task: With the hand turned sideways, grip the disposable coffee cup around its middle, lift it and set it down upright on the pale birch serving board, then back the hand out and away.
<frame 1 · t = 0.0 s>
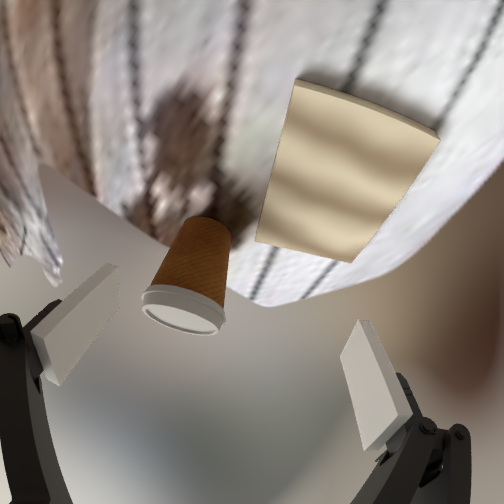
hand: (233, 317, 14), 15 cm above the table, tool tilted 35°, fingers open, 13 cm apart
serving board: (333, 186, 25), on the table
disposable coffee cup: (207, 231, 35), on the table
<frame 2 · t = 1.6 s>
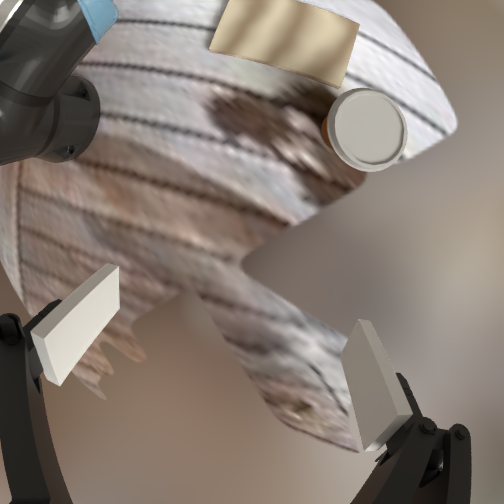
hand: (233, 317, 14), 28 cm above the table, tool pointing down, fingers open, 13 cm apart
serving board: (286, 34, 30), on the table
disposable coffee cup: (341, 131, 36), on the table
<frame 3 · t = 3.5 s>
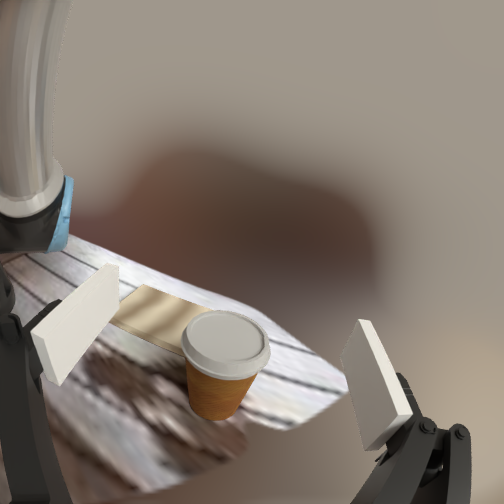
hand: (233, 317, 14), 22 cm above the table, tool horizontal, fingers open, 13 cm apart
serving board: (170, 323, 45), on the table
disposable coffee cup: (213, 402, 32), on the table
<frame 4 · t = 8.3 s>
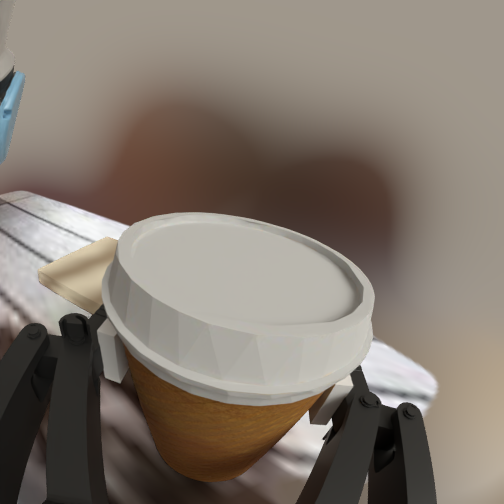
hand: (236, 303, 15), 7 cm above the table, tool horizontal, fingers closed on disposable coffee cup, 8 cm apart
serving board: (139, 290, 26), on the table
disposable coffee cup: (207, 439, 14), on the table, touching gripper
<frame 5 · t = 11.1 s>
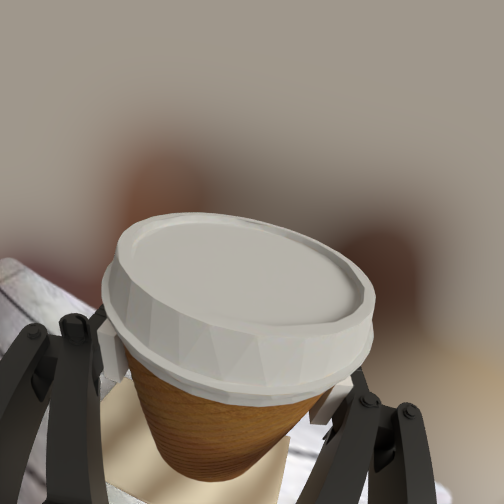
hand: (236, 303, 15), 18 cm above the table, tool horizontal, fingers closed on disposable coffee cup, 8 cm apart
serving board: (179, 460, 20), on the table
disposable coffee cup: (207, 439, 14), point 11 cm above the table, touching gripper
when the fingers open (10 cm above the table, at t = 13.8 s): disposable coffee cup drops 1 cm, point 1 cm above the table.
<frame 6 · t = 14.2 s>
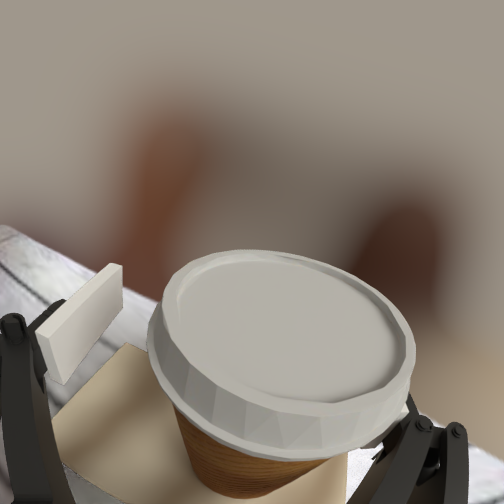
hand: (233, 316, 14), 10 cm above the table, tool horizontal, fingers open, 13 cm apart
serving board: (203, 455, 14), on the table
disposable coffee cup: (240, 458, 14), point 1 cm above the table, touching gripper
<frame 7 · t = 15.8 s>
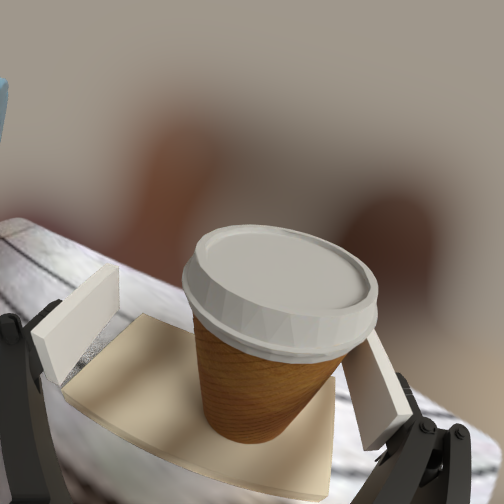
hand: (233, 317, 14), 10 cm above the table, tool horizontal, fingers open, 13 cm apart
serving board: (209, 406, 19), on the table
disposable coffee cup: (246, 409, 18), point 1 cm above the table, touching gripper, serving board
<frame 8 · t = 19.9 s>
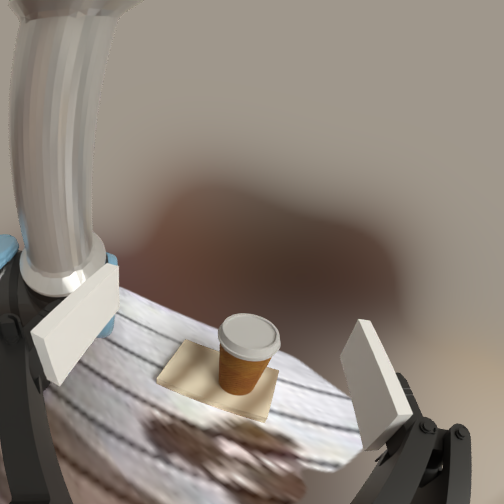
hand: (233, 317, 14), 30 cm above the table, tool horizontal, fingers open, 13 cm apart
serving board: (220, 381, 45), on the table
disposable coffee cup: (236, 383, 44), point 1 cm above the table, touching serving board
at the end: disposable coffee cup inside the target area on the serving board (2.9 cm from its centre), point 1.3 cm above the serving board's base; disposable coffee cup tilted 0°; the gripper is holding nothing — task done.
